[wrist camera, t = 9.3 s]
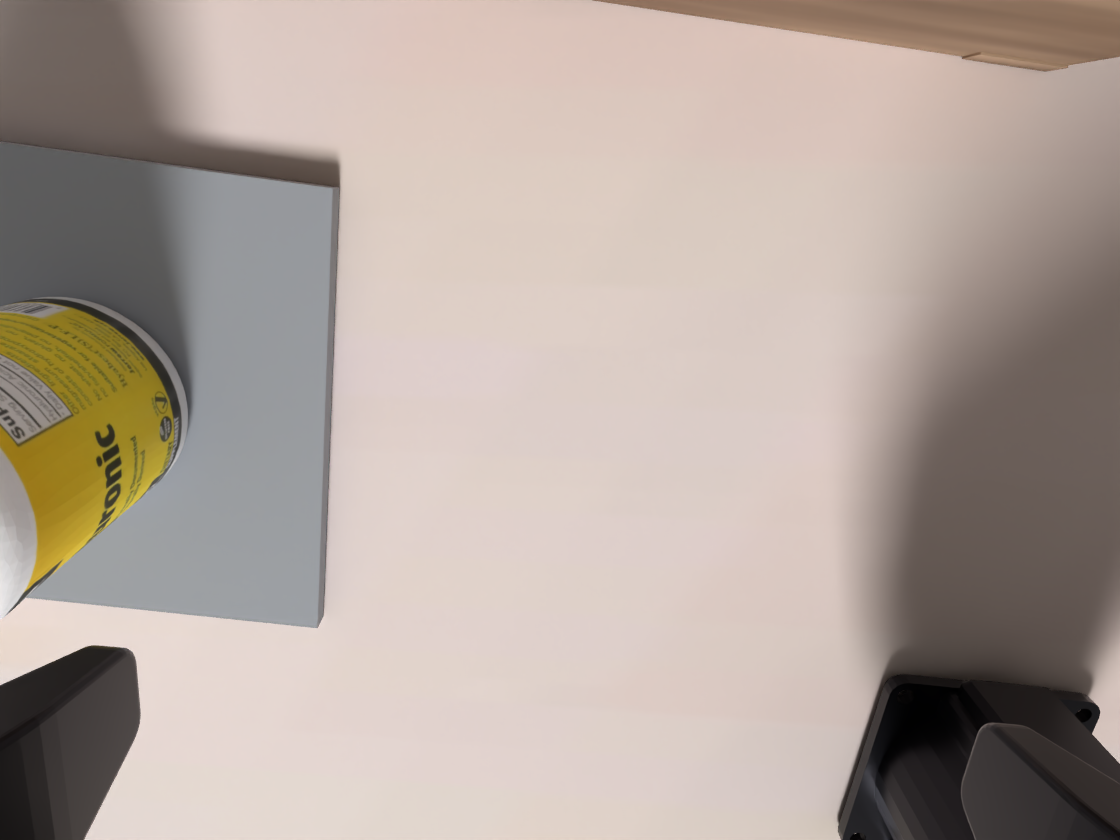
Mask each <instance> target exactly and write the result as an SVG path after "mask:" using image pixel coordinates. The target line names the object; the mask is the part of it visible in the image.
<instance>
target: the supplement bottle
mask: <svg viewBox="0 0 1120 840" xmlns="http://www.w3.org/2000/svg"><path fill="white" fill-rule="evenodd" d="M187 427H188V408H187V401H186V395H185V391H184V387H183V385H182V382H181V379H180V377H179V375H178V373H177V370H176V369H175V367H174V365H173V363H172V362H171V360H170V359H169V357H168V356H167V354H166V353H165V352H164V351H163V350H162V348H161V347H160V346H159V345H158V344H157V342H156V341H155V340H154V339H153V338H152V337H151V336H150V335H149V334H148V333H146V332H145V331H144V330H143V329H142V328H140V327H139V326H138V325H136V324H135V323H134V322H132V321H131V320H129V319H127V318H126V317H124V316H123V315H121V314H119V313H117V312H115V311H113V310H111V309H109V308H107V307H105V306H102V305H99V304H97V303H93V302H90V301H86V300H82V299H76V298H68V297H41V298H34V299H28V300H24V301H19V302H15V303H12V304H8V305H4V306H1V307H0V619H2V618H3V617H5V616H6V615H7V614H8V613H9V612H10V611H12V610H13V609H14V608H15V607H16V606H17V605H18V604H19V603H20V602H21V601H22V600H24V599H25V598H26V597H27V596H28V595H29V594H30V593H32V592H33V591H34V590H35V589H36V588H37V587H38V586H39V585H41V584H42V583H43V582H44V581H45V580H46V579H47V578H49V577H50V576H51V575H52V574H53V573H54V572H55V571H57V570H58V569H59V568H60V567H61V566H62V565H63V564H65V563H66V562H67V561H68V560H69V559H70V558H72V557H73V556H74V555H75V554H76V553H77V552H79V551H80V550H81V549H82V548H83V547H84V546H86V545H87V544H88V543H89V542H90V541H91V540H92V539H94V538H95V537H96V536H97V535H98V534H99V533H101V532H102V531H103V530H104V529H105V528H106V527H108V526H109V525H110V524H111V523H112V522H113V521H115V520H116V519H117V518H118V517H119V516H120V515H122V514H123V513H124V512H125V511H126V510H127V509H129V508H130V507H131V506H132V505H134V504H135V503H136V502H137V501H138V500H139V499H141V498H142V497H143V496H144V495H145V494H146V493H147V492H148V491H149V490H151V489H152V488H153V487H154V486H155V485H156V484H157V483H158V482H159V481H160V480H161V479H162V478H163V477H164V476H165V475H166V474H167V473H168V472H169V470H170V469H171V468H172V466H173V465H174V463H175V462H176V460H177V458H178V457H179V455H180V453H181V450H182V448H183V445H184V442H185V438H186V433H187Z"/></svg>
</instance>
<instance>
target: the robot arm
mask: <svg viewBox="0 0 1120 840" xmlns="http://www.w3.org/2000/svg"><path fill="white" fill-rule="evenodd" d="M903 690H907V692H906V693H904V694H902V695H898V694H899V693H900V692H902V691H903ZM1079 710H1080V711H1079ZM1077 711H1079V712H1077ZM1099 716H1100V710H1099V707H1098V706H1097V705H1096V704H1095V703H1094V702H1093V701H1092V700H1091V699H1090V698H1089V697H1088V696H1087V695H1085V694H1082V693H1075V692H1066V691H1056V690H1050V689H1048V688H1044V687H1035V686H1025V685H1016V684H1006V683H997V682H987V681H978V680H969V681H962V680H953V679H943V678H934V677H924V676H915V675H906V674H903V675H896V676H894V677H891V678H890V679H889V680H888V681H887V682H886V683H885V685H884V687H883V690H882V693H881V697H880V700H879V703H878V706H877V709H876V712H875V715H874V718H873V721H872V724H871V727H870V730H869V733H868V737H867V740H866V743H865V746H864V749H863V752H862V755H861V758H860V761H859V764H858V767H857V770H856V774H855V777H854V780H853V783H852V786H851V789H850V792H849V795H848V798H847V801H846V804H845V807H844V811H843V814H842V817H841V820H840V823H839V826H838V833H839V835H840V838H841V840H1120V764H1119V763H1118V762H1117V761H1116V759H1115V758H1114V757H1113V756H1112V755H1111V754H1110V753H1109V752H1108V751H1107V750H1106V749H1105V748H1104V747H1103V746H1102V744H1101V743H1100V742H1099V741H1098V740H1097V739H1096V738H1095V737H1094V736H1093V735H1092V732H1093V730H1094V728H1095V726H1096V723H1097V721H1098V719H1099ZM139 724H140V701H139V689H138V677H137V666H136V660H135V656H134V654H133V653H132V652H131V651H130V650H129V649H127V648H120V647H108V646H87V647H85V648H82V649H80V650H78V651H76V652H74V653H71V654H69V655H67V656H65V657H62V658H60V659H58V660H56V661H53V662H51V663H49V664H47V665H45V666H42V667H40V668H38V669H36V670H33V671H31V672H29V673H27V674H24V675H22V676H20V677H18V678H16V679H13V680H11V681H9V682H7V683H4V684H2V685H0V840H84V839H85V837H86V835H87V833H88V831H89V829H90V827H91V825H92V823H93V821H94V819H95V817H96V815H97V813H98V811H99V809H100V807H101V805H102V803H103V801H104V799H105V797H106V795H107V793H108V791H109V789H110V787H111V785H112V783H113V781H114V779H115V777H116V775H117V773H118V771H119V769H120V767H121V765H122V763H123V761H124V759H125V757H126V755H127V753H128V751H129V749H130V747H131V745H132V743H133V741H134V739H135V737H136V734H137V731H138V728H139ZM855 833H856V834H855Z"/></svg>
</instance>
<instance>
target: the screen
mask: <svg viewBox="0 0 1120 840" xmlns="http://www.w3.org/2000/svg"><path fill="white" fill-rule="evenodd" d="M594 1H601V2H607V3H614V4H621V5H627V6H634V7H640V8H647V9H654V10H660V11H667V12H673V13H680V14H686V15H693V16H700V17H706V18H713V19H719V20H726V21H733V22H739V23H746V24H752V25H759V26H765V27H772V28H779V29H785V30H792V31H798V32H805V33H812V34H818V35H825V36H831V37H838V38H844V39H851V40H858V41H864V42H871V43H877V44H884V45H891V46H897V47H904V48H910V49H917V50H923V51H930V52H937V53H943V54H950V55H956V56H963V57H962V59H966V60H973V61H980V62H986V63H993V64H999V65H1006V66H1013V67H1019V68H1026V69H1032V70H1039V71H1051V70H1057V69H1063V68H1068V65H1073V64H1079V63H1085V62H1091V61H1097V60H1102V59H1108V58H1114V57H1120V0H594Z"/></svg>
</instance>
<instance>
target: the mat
mask: <svg viewBox="0 0 1120 840" xmlns="http://www.w3.org/2000/svg"><path fill="white" fill-rule="evenodd" d="M338 213H339V187H334V186H326V185H319V184H312V183H304V182H297V181H290V180H282V179H275V178H268V177H260V176H253V175H245V174H238V173H231V172H223V171H216V170H209V169H201V168H194V167H187V166H179V165H172V164H165V163H157V162H150V161H143V160H135V159H128V158H121V157H113V156H106V155H98V154H91V153H84V152H76V151H69V150H62V149H54V148H47V147H40V146H32V145H25V144H18V143H10V142H3V141H0V307H1V306H4V305H8V304H12V303H15V302H19V301H24V300H28V299H34V298H41V297H68V298H76V299H82V300H86V301H90V302H93V303H97V304H99V305H102V306H105V307H107V308H109V309H111V310H113V311H115V312H117V313H119V314H121V315H123V316H124V317H126V318H127V319H129V320H131V321H132V322H134V323H135V324H136V325H138V326H139V327H140V328H142V329H143V330H144V331H145V332H146V333H148V334H149V335H150V336H151V337H152V338H153V339H154V340H155V341H156V342H157V344H158V345H159V346H160V347H161V348H162V350H163V351H164V352H165V353H166V354H167V356H168V357H169V359H170V360H171V362H172V363H173V365H174V367H175V369H176V370H177V373H178V375H179V377H180V379H181V382H182V385H183V387H184V391H185V395H186V401H187V408H188V427H187V433H186V438H185V442H184V445H183V448H182V450H181V453H180V455H179V457H178V458H177V460H176V462H175V463H174V465H173V466H172V468H171V469H170V470H169V472H168V473H167V474H166V475H165V476H164V477H163V478H162V479H161V480H160V481H159V482H158V483H157V484H156V485H155V486H154V487H153V488H152V489H151V490H149V491H148V492H147V493H146V494H145V495H144V496H143V497H142V498H141V499H139V500H138V501H137V502H136V503H135V504H134V505H132V506H131V507H130V508H129V509H127V510H126V511H125V512H124V513H123V514H122V515H120V516H119V517H118V518H117V519H116V520H115V521H113V522H112V523H111V524H110V525H109V526H108V527H106V528H105V529H104V530H103V531H102V532H101V533H99V534H98V535H97V536H96V537H95V538H94V539H92V540H91V541H90V542H89V543H88V544H87V545H86V546H84V547H83V548H82V549H81V550H80V551H79V552H77V553H76V554H75V555H74V556H73V557H72V558H70V559H69V560H68V561H67V562H66V563H65V564H63V565H62V566H61V567H60V568H59V569H58V570H57V571H55V572H54V573H53V574H52V575H51V576H50V577H49V578H47V579H46V580H45V581H44V582H43V583H42V584H41V585H39V586H38V587H37V588H36V589H35V590H34V591H33V592H32V593H30V594H29V595H28V596H27V597H26V598H35V599H45V600H54V601H64V602H73V603H83V604H92V605H102V606H111V607H121V608H130V609H140V610H149V611H159V612H168V613H178V614H187V615H197V616H207V617H216V618H226V619H235V620H245V621H254V622H264V623H273V624H283V625H292V626H302V627H311V628H318V626H319V624H320V622H321V620H322V618H323V611H324V585H325V558H326V532H327V505H328V479H329V452H330V425H331V399H332V372H333V346H334V319H335V293H336V266H337V240H338Z"/></svg>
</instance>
